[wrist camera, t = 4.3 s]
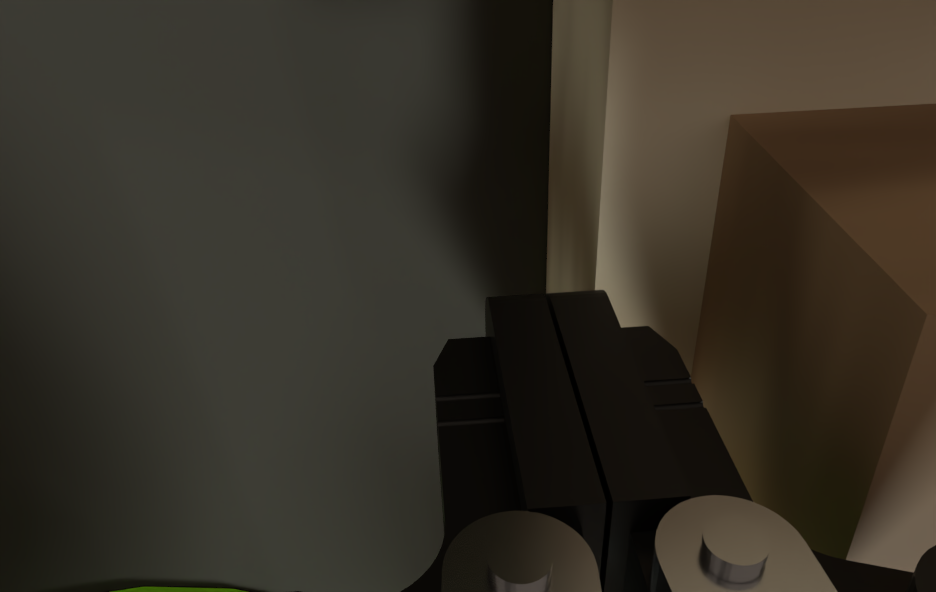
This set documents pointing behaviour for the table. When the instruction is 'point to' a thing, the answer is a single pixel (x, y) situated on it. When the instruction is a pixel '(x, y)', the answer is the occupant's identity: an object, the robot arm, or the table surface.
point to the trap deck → (694, 126)
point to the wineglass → (178, 589)
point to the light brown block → (828, 325)
